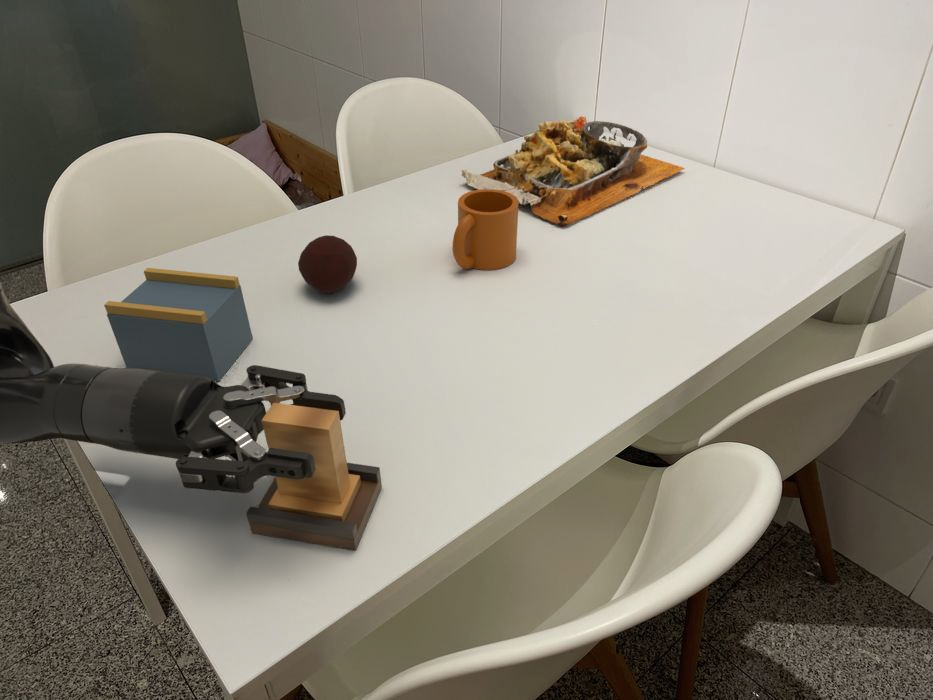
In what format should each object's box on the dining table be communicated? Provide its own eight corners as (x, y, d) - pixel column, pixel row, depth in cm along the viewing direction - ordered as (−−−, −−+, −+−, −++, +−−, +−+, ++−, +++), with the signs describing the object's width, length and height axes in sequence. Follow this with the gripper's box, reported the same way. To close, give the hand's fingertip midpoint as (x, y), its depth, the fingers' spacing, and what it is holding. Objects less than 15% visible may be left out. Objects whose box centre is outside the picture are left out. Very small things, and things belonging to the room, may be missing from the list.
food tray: (580, 139, 147) (585, 87, 141) (685, 172, 132) (695, 115, 126) (458, 185, 128) (456, 127, 122) (563, 229, 113) (568, 166, 107)
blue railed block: (127, 370, 84) (102, 305, 78) (167, 329, 91) (148, 266, 85) (218, 382, 82) (200, 316, 76) (253, 338, 89) (238, 275, 83)
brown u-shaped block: (251, 533, 64) (245, 513, 62) (286, 472, 70) (281, 452, 68) (355, 551, 62) (352, 530, 60) (382, 486, 68) (379, 466, 66)
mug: (429, 261, 105) (427, 205, 100) (489, 237, 111) (490, 183, 106) (468, 284, 99) (467, 226, 94) (529, 257, 105) (531, 202, 100)
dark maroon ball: (357, 269, 103) (351, 221, 99) (362, 301, 96) (357, 251, 91) (302, 275, 102) (293, 227, 97) (303, 308, 95) (294, 257, 90)
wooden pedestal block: (270, 513, 64) (248, 429, 58) (292, 473, 67) (274, 392, 62) (343, 524, 62) (328, 441, 56) (361, 484, 66) (349, 402, 60)
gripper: (89, 435, 55) (288, 464, 52) (185, 333, 66) (352, 352, 63) (118, 500, 59) (303, 530, 56) (203, 394, 70) (360, 415, 68)
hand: (328, 436), depth 60 cm, fingers open, 6 cm apart
